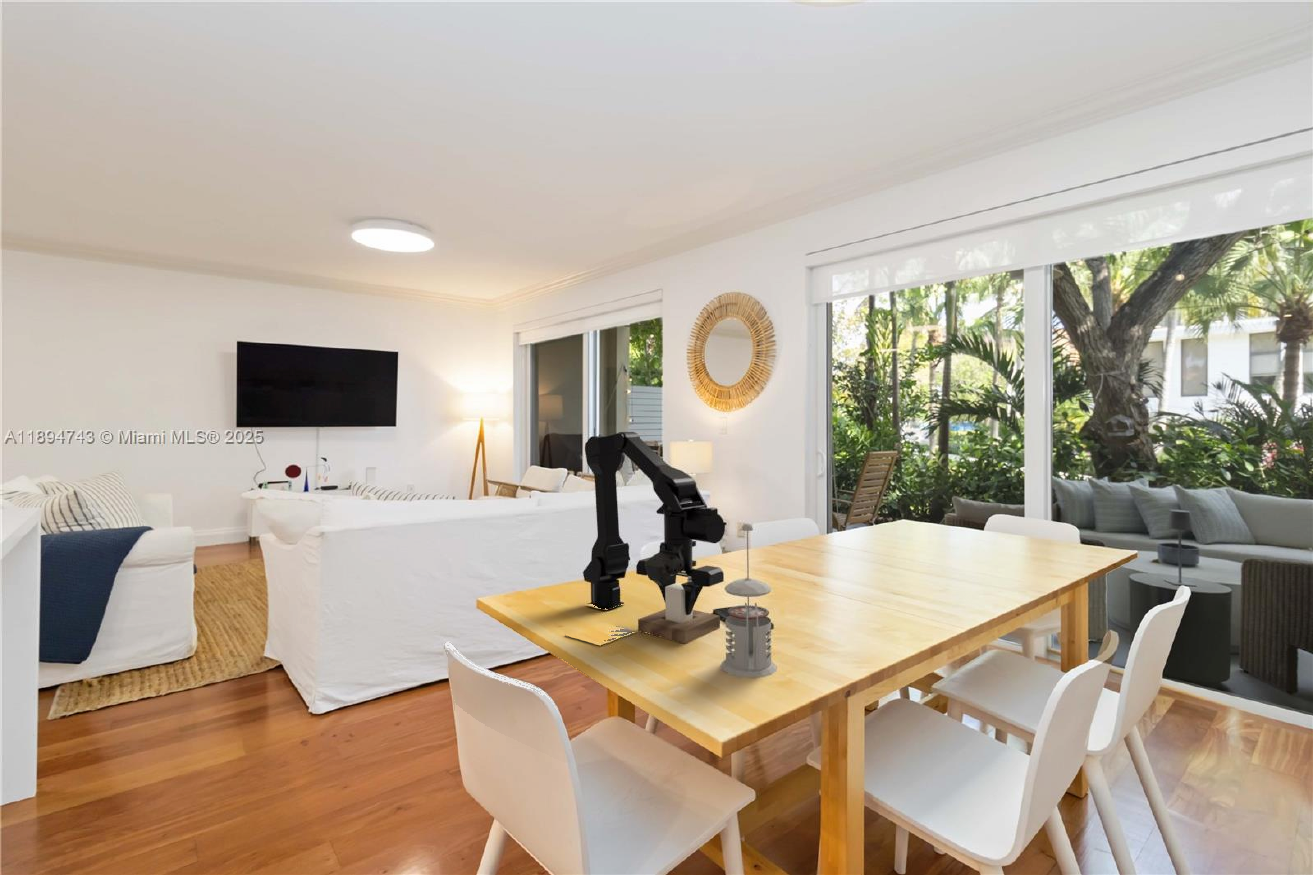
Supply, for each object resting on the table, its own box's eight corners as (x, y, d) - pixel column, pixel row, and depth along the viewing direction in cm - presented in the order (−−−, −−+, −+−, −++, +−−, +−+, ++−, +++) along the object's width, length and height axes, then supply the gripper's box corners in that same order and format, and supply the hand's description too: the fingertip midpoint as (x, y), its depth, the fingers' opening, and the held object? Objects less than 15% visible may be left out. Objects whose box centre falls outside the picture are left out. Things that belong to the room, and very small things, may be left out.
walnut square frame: (638, 631, 129) (638, 619, 129) (674, 617, 139) (673, 605, 139) (685, 643, 122) (685, 630, 122) (719, 627, 131) (719, 615, 131)
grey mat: (564, 636, 127) (564, 634, 127) (599, 623, 135) (599, 621, 135) (600, 646, 121) (600, 644, 121) (635, 632, 129) (635, 630, 129)
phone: (742, 605, 144) (775, 625, 130) (742, 610, 144) (775, 630, 130) (710, 609, 142) (741, 629, 127) (710, 614, 142) (741, 635, 127)
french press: (773, 656, 115) (771, 519, 114) (783, 682, 103) (782, 529, 103) (718, 656, 115) (717, 519, 115) (723, 682, 104) (721, 530, 103)
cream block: (665, 630, 130) (665, 586, 130) (677, 625, 133) (677, 582, 133) (681, 634, 127) (680, 589, 127) (692, 629, 131) (692, 585, 130)
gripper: (618, 538, 129) (619, 613, 130) (692, 548, 118) (692, 632, 118) (652, 530, 138) (653, 601, 138) (724, 539, 126) (725, 617, 127)
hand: (679, 612), depth 130 cm, fingers open, 4 cm apart
